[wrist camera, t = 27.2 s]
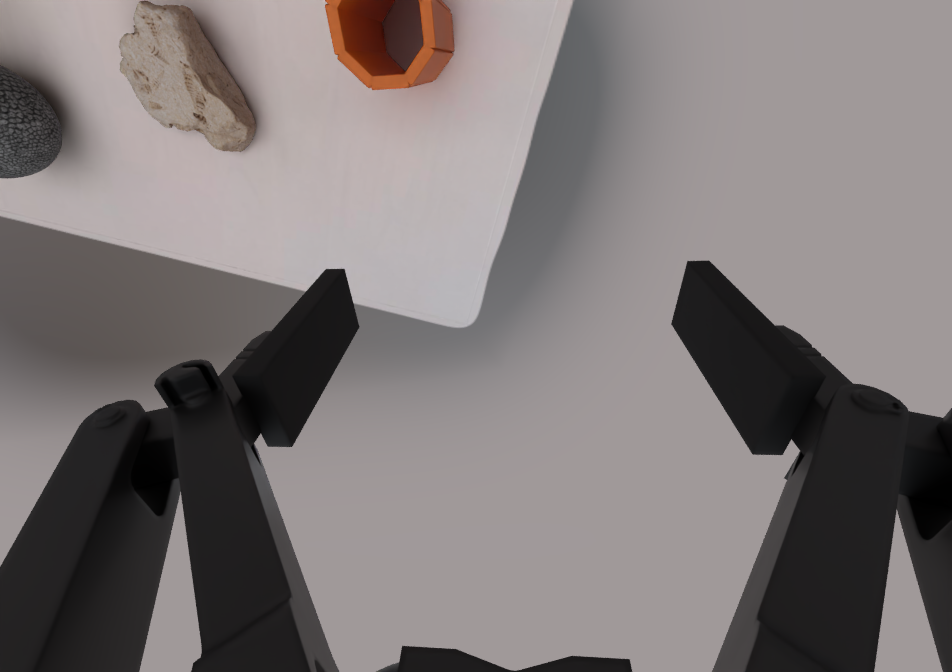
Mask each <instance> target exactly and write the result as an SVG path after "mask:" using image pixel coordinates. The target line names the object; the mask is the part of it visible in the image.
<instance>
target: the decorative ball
mask: <svg viewBox="0 0 952 672" xmlns="http://www.w3.org/2000/svg"><path fill="white" fill-rule="evenodd" d="M61 143H62V132H61V127H60V124H59V121H58V118H57V116H56V114H55V112H54V110H53V109H52V107H51V106H50V104H49V103H48V102H47V100H46V99H45V98H44V97H43V96H42V95H41V94H40V93H39V92H38V91H37V90H36V89H35V88H34V87H33V86H32V85H31V84H29V83H28V82H27V81H25V80H24V79H23V78H21V77H20V76H18V75H17V74H15V73H14V72H12V71H10V70H9V69H7V68H5V67H3V66H1V65H0V178H18V177H24V176H28V175H32V174H34V173H37V172H39V171H41V170H43V169H45V168H46V167H48V166H49V165H50V164H51V163H52V162H53V161H54V160H55V158H56V157H57V155H58V153H59V151H60V148H61Z"/></svg>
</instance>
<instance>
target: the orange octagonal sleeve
mask: <svg viewBox="0 0 952 672" xmlns="http://www.w3.org/2000/svg"><path fill="white" fill-rule="evenodd" d="M325 1H326V2H327V3H328V4H326V5H325V8H326V13H327V18H328V23H329V28H330V33H331V38H332V43H333V47H334V52H335V54H336V55H338V60H339V61H340V62H341V63H342V64H344V65H345V66H346V67H347V68H348V69H349V70H350V71H351V72H352V73H353V74H354V75H355V76H356V77H357V78H358V79H359V80H360V81H362V82H363V83H364V84H365V85H366V86H367V87H368V88H372V90H380V89H396V88H409V87H413V86H417V85H421V84H425V83H429V82H433V80H436V79H437V77H438V76H439V74H440V73H441V72H442V70H443V69H444V67H445V66H446V64H447V63H448V62H449V60H450V59H451V57H452V56H453V53H452V52H453V51H454V38H453V23H452V14H451V13H450V9H449V8H448V7H447V6H446V5H445V4H444V3H443V2H442V0H418V1H419V4H420V14H421V24H422V33H423V43H424V45H423V46H422V48H421V49H420V51H419V52H418V54H417V55H416V57H415V58H414V60H413V61H412V63H411V64H410V66H409V67H408V69H407V70H406V72H405V71H404V70H403V69H402V68H401V67H400V66H399V65H398V64H397V63H396V62H395V61H394V60H393V59H392V58H391V57H390V56H389V55H388V54H387V52H386V45H385V38H384V31H383V25H382V22H383V20H384V18H385V17H386V15H387V13H388V12H389V10H390V8H391V7H392V5H393V3H394V2H395V0H325Z"/></svg>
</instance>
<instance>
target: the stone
mask: <svg viewBox="0 0 952 672" xmlns="http://www.w3.org/2000/svg"><path fill="white" fill-rule="evenodd" d="M134 23H135V26H134V28H135V31H134V33H132V34H128V33H127V34H125V35H124V36H123V37H122V38H121V40H120V45H119V48H120V50H121V56H122V57H123V58H122V61H121V63H120V71H121V72H122V73H123V74H124V76H125V77H126V78H127V79H128V81H129V82H130V84H131V86H132V88H133V90H134V92H135V94H136V96H137V97H138V99H139V100H140V102H141V103H142V105H143V107H144V108H145V109H146V111H147V112H148V114H150V115H151V116H152V117H153V118H154V119H155V120H157V121H159V122H160V123H161V124H162V125H163V126H164V127H166V128H172V126H173V125H174V126H176V127H177V129H180V130H186V131H191V130H197V131H199V132H201V133H203V134H204V135H205V137H206V139H207V140H208V141H209V143H210V144H211V145H212V146H213V147H214V148H215V149H218V150H222V151H239V152H241V151H243V150H245V148H246V147H247V146H248V145H249V144H250V142H251V141H252V140H253V137H254V133H255V130H256V126H255V121H254V118H253V115H252V113H251V111H250V110H249V109H248V107H247V105H246V103H245V99H244V97H243V94H242V92H241V91H240V89H239V87H238V86H237V84H236V83H235V81H234V80H233V78H232V76H231V75H230V74H229V72H228V71H227V70H226V68H225V66H224V65H223V63H222V62H221V61H220V60H219V58H218V56H217V54H216V52H215V50H214V48H213V47H212V45H211V44H210V43H209V41H208V40H207V39H206V37H205V36H204V34H203V32H202V31H201V29H200V26H199V24H198V22H197V21H196V18H195V17H194V16H193V13H192V11H191V9H190V8H188V7H185V6H183V5H181V6H178V5H164V6H159V5H154V4H152V3H151V2H148V1H140V2H139V3H138V5H137V8H136V11H135V15H134Z"/></svg>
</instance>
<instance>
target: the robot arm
mask: <svg viewBox="0 0 952 672" xmlns="http://www.w3.org/2000/svg"><path fill="white" fill-rule="evenodd" d="M672 326H673V327H674V329H675V331H676V332H677V334H678V335H679V337H680V339H681V340H682V342H683V343H684V345H685V347H686V348H687V350H688V351H689V353H690V355H691V356H692V358H693V360H694V361H695V363H696V364H697V366H698V368H699V369H700V371H701V372H702V374H703V376H704V377H705V379H706V380H707V382H708V384H709V385H710V387H711V388H712V390H713V392H714V393H715V395H716V396H717V398H718V400H719V401H720V403H721V404H722V406H723V407H724V409H725V411H726V412H727V414H728V416H729V417H730V419H731V420H732V422H733V424H734V425H735V427H736V428H737V430H738V432H739V433H740V435H741V437H742V438H743V440H744V441H745V443H746V444H747V446H748V447H749V449H750V451H751V453H752V454H756V455H760V454H761V455H783V453H784V451H785V449H786V448H787V446H788V444H789V442H790V441H791V439H792V440H793V441H794V443H795V444H796V446H797V447H798V448H799V450H800V452H799V454H798V456H797V457H796V459H795V461H794V463H793V464H792V466H791V468H790V470H789V471H788V473H787V474H786V476H785V479H787V482H786V484H785V487H784V489H783V492H782V494H781V497H780V500H779V502H778V505H777V507H776V510H775V512H774V515H773V517H772V520H771V523H770V525H769V528H768V531H767V533H766V535H765V538H764V540H763V543H762V546H761V548H760V551H759V553H758V556H757V558H756V561H755V563H754V566H753V569H752V572H751V574H750V576H749V579H748V581H747V584H746V587H745V589H744V592H743V594H742V597H741V599H740V602H739V604H738V607H737V609H736V612H735V615H734V617H733V620H732V622H731V625H730V627H729V630H728V632H727V635H726V638H725V640H724V643H723V645H722V648H721V650H720V653H719V655H718V658H717V661H716V663H715V666H714V668H713V671H712V672H874V668H875V661H876V654H877V646H878V639H879V632H880V625H881V618H882V610H883V603H884V596H885V588H886V581H887V574H888V567H889V560H890V552H891V544H892V538H893V531H894V523H895V515H896V509H897V511H898V514H899V518H900V521H901V525H902V529H903V532H904V536H905V539H906V543H907V546H908V550H909V553H910V557H911V560H912V564H913V567H914V571H915V574H916V578H917V581H918V585H919V588H920V592H921V596H922V599H923V602H924V606H925V610H926V613H927V617H928V620H929V624H930V627H931V631H932V634H933V638H934V641H935V645H936V648H937V652H938V655H939V659H940V663H941V666H942V670H943V672H952V408H951V410H950V411H949V412H948V413H947V414H946V416H945V417H944V418H941V417H935V416H930V415H925V414H920V413H914V412H910V411H908V409H907V407H906V406H905V405H904V404H903V403H902V402H901V401H900V400H898V399H896V398H895V397H893V396H892V395H890V394H889V393H886V392H884V391H881V390H879V389H877V388H874V387H870V386H866V385H861V384H853V383H852V382H851V381H849V380H848V379H847V378H846V377H845V376H844V375H843V374H842V373H841V372H840V371H839V370H838V369H836V367H834V366H833V365H832V364H831V363H830V362H829V361H828V360H827V359H826V358H825V357H823V356H821V353H819V352H818V351H817V350H816V349H815V348H812V345H811V344H810V343H809V342H808V341H807V340H806V339H804V338H803V337H802V336H801V335H800V334H798V333H796V332H794V331H792V330H791V329H789V328H787V327H785V326H775V325H774V324H773V323H772V322H771V321H770V320H769V319H768V318H766V316H764V314H763V313H762V312H760V311H759V310H758V309H757V308H756V307H755V306H754V305H753V304H752V303H751V302H750V301H749V300H748V299H747V298H746V297H745V296H744V295H743V294H742V293H741V292H740V291H739V290H738V289H737V288H736V287H735V286H734V285H733V284H732V283H731V282H730V281H729V280H728V279H727V278H726V277H725V276H724V275H723V274H722V273H721V272H720V271H719V270H718V269H717V268H716V267H715V266H714V265H713V264H712V263H711V262H710V261H688V262H687V265H686V269H685V273H684V277H683V281H682V285H681V289H680V292H679V296H678V300H677V304H676V308H675V312H674V316H673V320H672ZM358 329H359V324H358V320H357V316H356V312H355V309H354V304H353V300H352V296H351V293H350V289H349V285H348V281H347V277H346V273H345V269H326V270H325V271H324V272H323V273H322V274H321V275H320V277H319V278H318V279H317V280H316V281H315V282H314V283H313V284H312V286H311V287H310V288H309V289H308V290H307V291H306V292H305V294H304V295H303V296H302V297H301V298H300V299H299V301H298V302H297V303H296V304H295V305H294V306H293V307H292V308H291V310H290V311H289V312H288V313H287V314H286V315H285V316H284V317H283V319H282V320H281V321H280V322H279V323H278V324H277V325H276V327H275V328H274V329H273V330H272V331H265V332H264V333H262V334H261V335H259V336H258V337H256V338H254V339H253V340H252V341H251V342H250V343H249V344H248V345H247V346H246V347H245V348H244V349H243V351H242V352H241V353H240V354H239V355H238V356H237V357H236V359H234V360H233V361H232V362H231V363H230V365H229V366H228V367H227V368H226V369H225V370H224V371H223V372H222V373H221V374H220V375H219V376H218V375H217V373H216V371H215V369H214V368H213V366H212V364H211V363H210V362H209V361H206V360H191V361H188V362H184V363H180V364H178V365H176V366H174V367H171V368H170V369H168V370H167V371H165V372H164V373H162V374H161V375H160V376H159V377H158V378H157V379H156V382H155V385H154V386H155V388H156V389H157V391H158V392H159V394H160V395H161V397H162V398H163V400H164V401H165V403H166V404H167V406H168V408H163V409H158V410H153V411H149V412H145V410H144V409H143V408H142V406H141V405H140V404H139V403H138V402H137V401H134V400H124V401H118V402H115V403H112V404H108V405H105V406H103V407H102V408H99V409H98V410H96V411H95V412H93V413H92V414H91V415H90V416H88V417H87V418H86V419H85V420H84V421H83V422H82V423H81V425H80V426H79V428H78V430H77V431H76V433H75V435H74V437H73V439H72V440H71V442H70V444H69V446H68V447H67V449H66V451H65V453H64V454H63V456H62V458H61V460H60V462H59V463H58V465H57V467H56V469H55V470H54V472H53V474H52V476H51V478H50V480H49V481H48V483H47V485H46V486H45V488H44V490H43V492H42V494H41V496H40V497H39V499H38V501H37V502H36V504H35V506H34V508H33V510H32V511H31V513H30V515H29V517H28V518H27V520H26V522H25V524H24V526H23V527H22V529H21V531H20V533H19V534H18V536H17V538H16V540H15V542H14V543H13V545H12V547H11V549H10V550H9V552H8V554H7V556H6V558H5V559H4V561H3V563H2V565H1V567H0V672H139V670H140V666H141V661H142V657H143V653H144V648H145V644H146V639H147V635H148V631H149V626H150V621H151V618H152V613H153V609H154V605H155V600H156V596H157V591H158V587H159V583H160V578H161V574H162V569H163V565H164V561H165V557H166V552H167V548H168V543H169V539H170V535H171V530H172V526H173V522H174V517H175V513H176V508H177V504H178V500H179V495H180V491H181V495H182V504H183V511H184V518H185V526H186V533H187V541H188V548H189V556H190V562H191V570H192V578H193V585H194V592H195V600H196V607H197V615H198V622H199V630H200V637H201V645H202V654H201V658H199V659H198V660H197V661H195V662H194V663H193V667H192V671H191V672H339V670H338V668H337V666H336V664H335V661H334V659H333V657H332V654H331V652H330V649H329V647H328V643H327V641H326V638H325V635H324V633H323V630H322V627H321V624H320V621H319V619H318V616H317V613H316V610H315V608H314V605H313V602H312V599H311V597H310V594H309V591H308V588H307V586H306V583H305V580H304V577H303V575H302V572H301V569H300V566H299V563H298V561H297V558H296V555H295V552H294V550H293V547H292V544H291V541H290V539H289V536H288V533H287V530H286V527H285V525H284V522H283V519H282V516H281V514H280V511H279V508H278V505H277V502H276V500H275V497H274V494H273V491H272V489H271V486H270V483H269V481H268V478H267V475H266V472H265V469H264V466H263V464H262V461H261V458H260V456H259V453H258V450H257V448H256V447H255V445H254V442H255V441H256V439H257V438H258V436H259V435H260V433H261V434H262V436H263V438H264V440H265V442H266V444H267V446H269V447H292V446H293V444H294V443H295V441H296V439H297V437H298V435H299V434H300V432H301V430H302V428H303V426H304V424H305V423H306V421H307V419H308V418H309V416H310V414H311V412H312V410H313V409H314V407H315V405H316V403H317V401H318V400H319V398H320V396H321V394H322V393H323V391H324V389H325V387H326V386H327V384H328V382H329V380H330V378H331V376H332V375H333V373H334V371H335V369H336V368H337V366H338V364H339V362H340V360H341V359H342V357H343V355H344V353H345V351H346V350H347V348H348V346H349V344H350V343H351V341H352V339H353V337H354V336H355V334H356V332H357V330H358ZM377 672H632V669H631V664H630V660H629V659H615V658H598V657H581V656H570V657H566V658H563V659H559V660H555V661H552V662H548V663H544V664H541V665H537V666H533V667H530V668H526V669H522V670H518V671H511V670H508V669H505V668H502V667H500V666H497V665H495V664H492V663H490V662H487V661H484V660H482V659H480V658H477V657H474V656H472V655H469V654H467V653H464V652H462V651H459V650H457V649H444V648H427V647H409V646H402V650H401V656H400V662H399V663H396V664H392V665H390V666H387V667H385V668H383V669H381V670H379V671H377Z"/></svg>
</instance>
